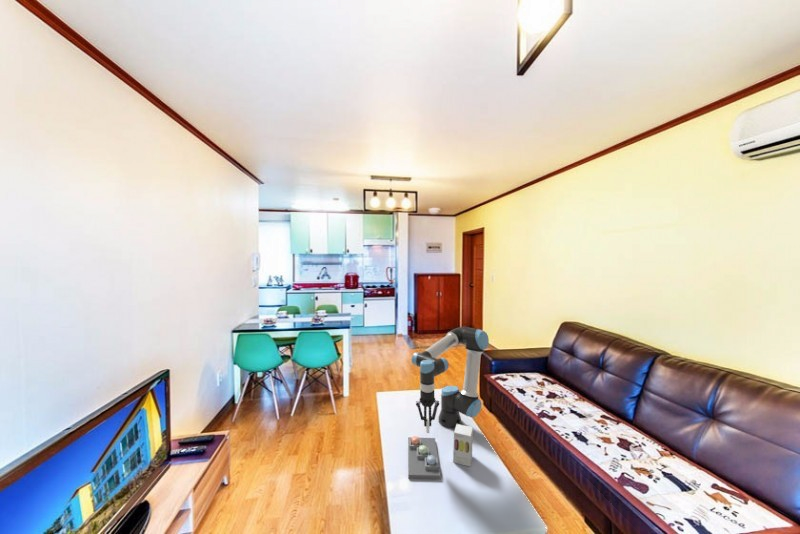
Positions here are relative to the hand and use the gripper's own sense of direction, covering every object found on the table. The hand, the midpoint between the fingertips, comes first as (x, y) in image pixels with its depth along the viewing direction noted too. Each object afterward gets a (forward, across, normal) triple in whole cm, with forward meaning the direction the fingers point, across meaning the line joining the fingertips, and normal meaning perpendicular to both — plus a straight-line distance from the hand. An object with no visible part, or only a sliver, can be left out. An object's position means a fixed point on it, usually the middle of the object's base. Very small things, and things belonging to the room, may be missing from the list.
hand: (427, 431), depth 160 cm
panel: (+16, +3, -1) cm, 16 cm away
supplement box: (+17, -19, 0) cm, 26 cm away
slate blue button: (+14, -1, +7) cm, 15 cm away
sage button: (+14, +3, -1) cm, 14 cm away
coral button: (+14, +7, -9) cm, 18 cm away
